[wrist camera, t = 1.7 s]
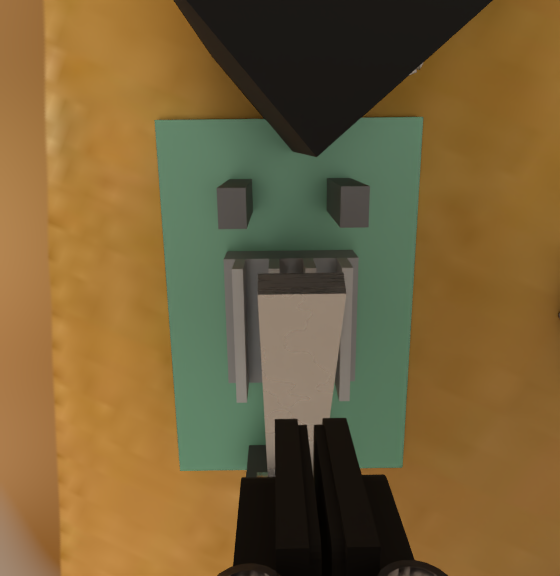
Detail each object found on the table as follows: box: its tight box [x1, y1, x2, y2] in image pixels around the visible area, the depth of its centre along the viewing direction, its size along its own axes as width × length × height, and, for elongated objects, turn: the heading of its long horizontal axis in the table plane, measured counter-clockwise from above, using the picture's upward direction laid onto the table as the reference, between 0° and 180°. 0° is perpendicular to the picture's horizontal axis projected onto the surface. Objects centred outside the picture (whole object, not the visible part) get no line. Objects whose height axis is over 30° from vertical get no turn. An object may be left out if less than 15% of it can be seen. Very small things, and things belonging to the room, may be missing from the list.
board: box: [155, 117, 423, 477], centre depth 30 cm, size 24×16×9 cm, turn 1°
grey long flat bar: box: [257, 272, 346, 477], centre depth 24 cm, size 18×4×1 cm
